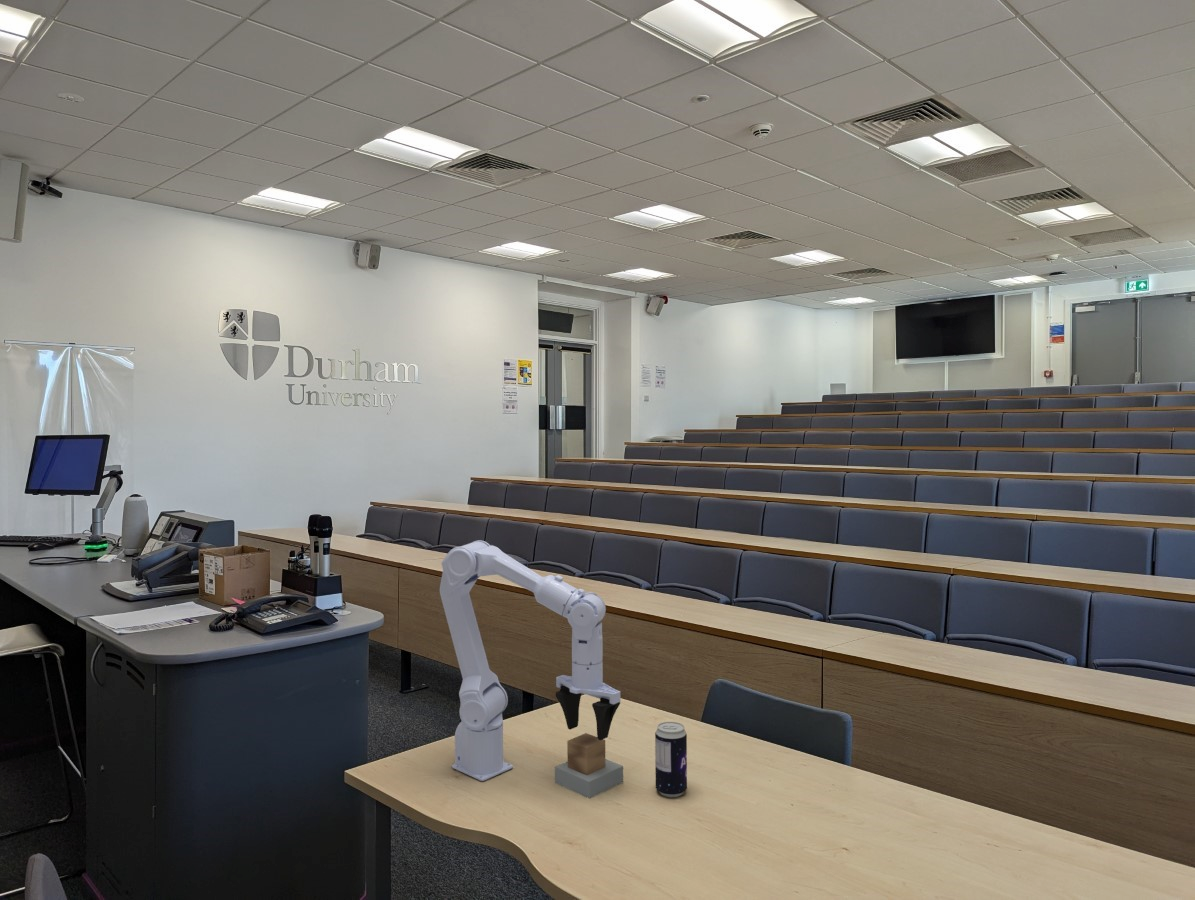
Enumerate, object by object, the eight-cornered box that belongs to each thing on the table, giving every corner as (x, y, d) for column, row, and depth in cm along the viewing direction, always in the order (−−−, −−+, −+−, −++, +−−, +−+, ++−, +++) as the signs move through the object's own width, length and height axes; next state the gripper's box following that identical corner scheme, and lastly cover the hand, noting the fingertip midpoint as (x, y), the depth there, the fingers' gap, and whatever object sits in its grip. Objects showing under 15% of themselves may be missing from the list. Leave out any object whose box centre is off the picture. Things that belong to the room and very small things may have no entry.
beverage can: (685, 800, 139) (685, 733, 138) (653, 797, 140) (653, 731, 140) (688, 786, 144) (687, 721, 144) (657, 783, 145) (657, 719, 145)
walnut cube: (567, 767, 146) (567, 740, 146) (586, 758, 149) (586, 733, 149) (586, 775, 142) (586, 748, 142) (605, 766, 146) (605, 740, 146)
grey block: (555, 785, 146) (554, 766, 146) (588, 769, 153) (588, 752, 153) (589, 801, 140) (589, 781, 140) (623, 784, 146) (623, 765, 146)
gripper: (544, 657, 147) (544, 729, 148) (602, 673, 138) (602, 750, 138) (570, 649, 153) (570, 718, 153) (627, 664, 143) (628, 738, 143)
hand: (587, 732), depth 146 cm, fingers open, 7 cm apart
